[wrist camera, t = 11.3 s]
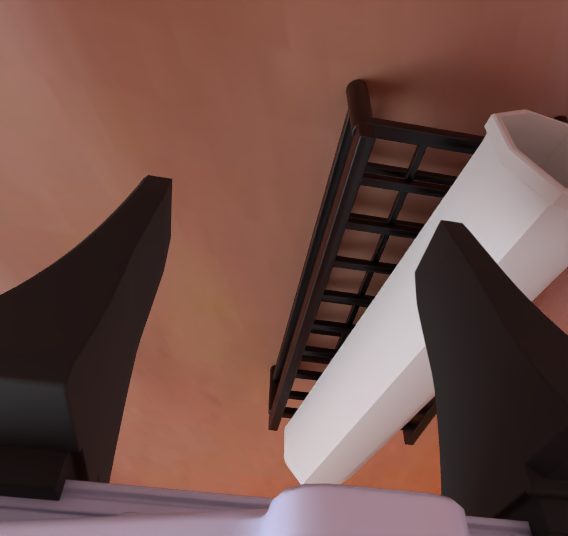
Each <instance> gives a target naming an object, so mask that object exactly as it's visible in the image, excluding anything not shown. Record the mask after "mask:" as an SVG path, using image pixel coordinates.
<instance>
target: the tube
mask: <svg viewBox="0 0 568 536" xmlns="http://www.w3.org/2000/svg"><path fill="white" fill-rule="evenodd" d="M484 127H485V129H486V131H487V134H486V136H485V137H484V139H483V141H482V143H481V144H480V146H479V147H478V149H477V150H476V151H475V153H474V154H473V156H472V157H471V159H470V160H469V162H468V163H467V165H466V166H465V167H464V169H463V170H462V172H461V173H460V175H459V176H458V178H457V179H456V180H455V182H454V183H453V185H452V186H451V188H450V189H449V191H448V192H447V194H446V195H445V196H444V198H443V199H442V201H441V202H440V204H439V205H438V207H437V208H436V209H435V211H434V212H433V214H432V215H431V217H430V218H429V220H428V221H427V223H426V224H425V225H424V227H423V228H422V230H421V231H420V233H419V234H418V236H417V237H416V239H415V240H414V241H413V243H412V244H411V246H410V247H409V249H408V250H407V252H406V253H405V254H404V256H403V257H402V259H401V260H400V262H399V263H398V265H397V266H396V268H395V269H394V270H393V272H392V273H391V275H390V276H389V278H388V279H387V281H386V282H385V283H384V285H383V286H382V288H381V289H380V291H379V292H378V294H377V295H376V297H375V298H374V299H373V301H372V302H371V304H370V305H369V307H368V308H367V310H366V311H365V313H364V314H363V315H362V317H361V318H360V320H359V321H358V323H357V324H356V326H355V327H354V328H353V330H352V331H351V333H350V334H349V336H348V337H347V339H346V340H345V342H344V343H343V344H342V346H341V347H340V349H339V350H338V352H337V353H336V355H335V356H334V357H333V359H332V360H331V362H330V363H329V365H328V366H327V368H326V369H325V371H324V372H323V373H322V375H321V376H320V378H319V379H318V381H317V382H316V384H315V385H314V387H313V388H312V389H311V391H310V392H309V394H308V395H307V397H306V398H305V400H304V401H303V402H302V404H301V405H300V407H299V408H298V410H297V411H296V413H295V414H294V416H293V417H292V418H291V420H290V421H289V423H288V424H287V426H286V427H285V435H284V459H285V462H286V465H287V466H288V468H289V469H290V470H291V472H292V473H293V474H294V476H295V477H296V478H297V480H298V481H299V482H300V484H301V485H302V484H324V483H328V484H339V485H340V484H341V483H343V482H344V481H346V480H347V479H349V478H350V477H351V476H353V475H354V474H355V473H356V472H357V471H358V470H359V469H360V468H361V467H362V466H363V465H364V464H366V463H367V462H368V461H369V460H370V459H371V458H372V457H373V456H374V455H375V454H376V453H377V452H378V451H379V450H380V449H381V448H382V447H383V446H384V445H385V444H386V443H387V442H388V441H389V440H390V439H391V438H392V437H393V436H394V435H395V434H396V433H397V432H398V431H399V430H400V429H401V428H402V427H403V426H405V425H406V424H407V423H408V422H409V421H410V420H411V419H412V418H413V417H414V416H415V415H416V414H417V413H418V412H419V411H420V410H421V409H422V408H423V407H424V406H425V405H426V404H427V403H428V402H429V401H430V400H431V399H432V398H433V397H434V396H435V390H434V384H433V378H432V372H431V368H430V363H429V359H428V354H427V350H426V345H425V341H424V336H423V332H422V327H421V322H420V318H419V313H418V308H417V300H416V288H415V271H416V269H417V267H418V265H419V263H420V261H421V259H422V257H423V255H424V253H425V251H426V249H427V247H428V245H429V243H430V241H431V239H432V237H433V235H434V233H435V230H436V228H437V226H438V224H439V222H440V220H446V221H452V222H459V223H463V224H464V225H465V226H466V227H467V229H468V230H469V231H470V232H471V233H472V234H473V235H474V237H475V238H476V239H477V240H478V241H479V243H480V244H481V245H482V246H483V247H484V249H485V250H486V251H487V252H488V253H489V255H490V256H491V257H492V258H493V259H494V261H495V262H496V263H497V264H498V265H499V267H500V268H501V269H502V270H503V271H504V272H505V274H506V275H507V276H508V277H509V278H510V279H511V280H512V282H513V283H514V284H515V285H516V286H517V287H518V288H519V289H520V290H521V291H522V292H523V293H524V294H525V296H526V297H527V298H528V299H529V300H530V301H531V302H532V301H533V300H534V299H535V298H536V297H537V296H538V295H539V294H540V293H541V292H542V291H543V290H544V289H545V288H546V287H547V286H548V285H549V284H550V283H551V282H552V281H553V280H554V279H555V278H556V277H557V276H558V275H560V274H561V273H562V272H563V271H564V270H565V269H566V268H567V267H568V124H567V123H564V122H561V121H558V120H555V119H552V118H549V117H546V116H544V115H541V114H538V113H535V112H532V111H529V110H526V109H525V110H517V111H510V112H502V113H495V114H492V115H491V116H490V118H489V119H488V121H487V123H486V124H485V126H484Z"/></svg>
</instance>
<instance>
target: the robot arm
mask: <svg viewBox="0 0 568 536" xmlns="http://www.w3.org/2000/svg"><path fill="white" fill-rule="evenodd" d="M171 203H172V179H170V178H163V177H157V176H150V175H148V176H146V177H145V178H143V180H142V181H141V182H140V183H139V185H138V186H137V187H136V188H135V189H134V191H133V192H132V193H131V194H130V195H129V196H128V197H127V199H126V200H125V201H124V202H123V203H122V204H121V205H120V206H119V207H118V208H117V209H116V210H115V211H114V212H113V213H112V214H111V215H110V216H109V217H108V218H107V219H106V220H105V221H104V222H103V223H102V224H101V225H100V226H99V227H98V228H97V229H96V230H94V231H93V232H92V233H91V234H90V235H89V236H88V237H86V238H85V239H84V240H83V241H82V242H81V243H80V244H78V245H77V246H76V247H75V248H73V249H72V250H71V251H70V252H68V253H67V254H66V255H64V256H63V257H61V258H60V259H59V260H57V261H56V262H55V263H53V264H52V265H50V266H49V267H47V268H46V269H44V270H43V271H41V272H39V273H38V274H36V275H35V276H33V277H32V278H30V279H28V280H27V281H25V282H23V283H22V284H20V285H18V286H17V287H15V288H13V289H11V290H9V291H7V292H5V293H3V294H1V295H0V536H568V335H567V334H565V333H564V332H563V331H562V330H561V329H560V328H559V327H558V326H556V325H555V324H554V323H553V322H552V321H551V320H550V319H549V318H548V317H546V316H545V315H544V314H543V313H542V312H541V311H540V310H539V309H538V308H537V307H536V306H535V305H534V304H533V303H532V302H531V301H530V300H529V299H528V298H527V297H526V296H525V294H524V293H523V292H522V291H521V290H520V289H519V288H518V287H517V286H516V285H515V284H514V283H513V282H512V280H511V279H510V278H509V277H508V276H507V275H506V274H505V272H504V271H503V270H502V269H501V268H500V267H499V265H498V264H497V263H496V262H495V261H494V259H493V258H492V257H491V256H490V255H489V253H488V252H487V251H486V250H485V249H484V247H483V246H482V245H481V244H480V243H479V241H478V240H477V239H476V238H475V237H474V235H473V234H472V233H471V232H470V231H469V230H468V229H467V227H466V226H465V225H464V224H463V223H459V222H452V221H446V220H440V222H439V224H438V226H437V228H436V230H435V233H434V235H433V237H432V239H431V241H430V243H429V245H428V247H427V249H426V251H425V253H424V255H423V257H422V259H421V261H420V263H419V265H418V267H417V269H416V271H415V288H416V300H417V308H418V313H419V318H420V322H421V327H422V332H423V336H424V341H425V345H426V350H427V354H428V359H429V363H430V368H431V372H432V378H433V384H434V390H435V400H436V410H437V420H438V433H439V447H440V467H441V495H436V494H432V493H423V492H412V491H402V490H391V489H381V488H370V487H360V486H349V485H339V484H328V483H324V484H302V485H298V486H294V487H291V488H287V489H285V490H284V491H282V492H281V493H280V494H279V495H278V496H277V497H276V498H264V497H253V496H242V495H231V494H220V493H209V492H198V491H187V490H176V489H165V488H154V487H143V486H132V485H121V484H110V483H109V481H110V476H111V470H112V465H113V460H114V455H115V450H116V445H117V440H118V435H119V430H120V425H121V421H122V416H123V411H124V406H125V402H126V397H127V393H128V388H129V383H130V379H131V375H132V370H133V366H134V361H135V357H136V353H137V349H138V346H139V342H140V339H141V336H142V333H143V330H144V327H145V324H146V321H147V319H148V316H149V313H150V310H151V307H152V304H153V301H154V298H155V295H156V292H157V289H158V286H159V284H160V281H161V278H162V275H163V272H164V267H165V263H166V258H167V253H168V248H169V243H170V238H171Z"/></svg>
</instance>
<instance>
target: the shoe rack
mask: <svg viewBox="0 0 568 536" xmlns="http://www.w3.org/2000/svg"><path fill="white" fill-rule="evenodd" d="M346 94H347V101H348V111H347V114H346V118H345V122H344V125H343V129H342V132H341V136H340V139H339V143H338V146H337V150H336V153H335V157H334V161H333V164H332V168H331V171H330V175H329V178H328V182H327V185H326V189H325V193H324V196H323V200H322V203H321V207H320V210H319V214H318V217H317V221H316V225H315V228H314V232H313V235H312V239H311V242H310V246H309V249H308V253H307V256H306V260H305V264H304V267H303V271H302V274H301V278H300V281H299V285H298V288H297V292H296V296H295V299H294V303H293V306H292V310H291V313H290V317H289V320H288V324H287V328H286V331H285V335H284V338H283V342H282V345H281V349H280V352H279V356H278V359H277V363H276V366H272V367H271V369H270V390H269V411H268V413H269V428H268V429H269V430H274V431H277V430H278V427H279V424H280V421H281V418H282V417H283V418H292V417H293V416H294V414H295V413H296V411H297V410H298V408H290V407H285V406H286V403H287V400H288V399H296V400H305V398H306V397H307V395H308V394H309V393H308V392H299V391H291V389H292V386H293V383H294V380H295V378H301V379H310V380H318V379H319V378H320V376H321V375H322V373H323V372H316V371H308V370H299V369H298V368H299V365H300V362H301V361H305V362H314V363H322V364H329V363H330V362H331V360H332V359H333V357H334V356H335V355H336V353H337V352H338V350H339V349H340V347H341V346H342V344H343V343H344V342H345V340H346V338H347V337H348V336H349V334H350V333H351V331H352V330H353V328H354V327H355V326H356V325H355V324H353V321H354V319H355V316H356V314H357V312H358V309H359V307H360V306H361V307H369V305H370V304H371V302H372V301H373V299H374V298H375V297H376V296H369V295H365V293H366V290H367V288H368V286H369V283H370V281H371V278H372V276H373V274H374V272H376V273H383V274H390V275H391V273H392V272H393V270H394V269H395V268H396V266H397V264H390V263H383V262H379V259H380V257H381V255H382V252H383V250H384V248H385V245H386V243H387V240H388V238H389V236H390V235H392V236H399V237H406V238H412V239H416V237H417V236H418V234H419V233H420V231H421V230H422V228H423V227H424V225H425V224H421V223H414V222H408V221H401V220H396V219H397V217H398V214H399V212H400V209H401V207H402V205H403V202H404V200H405V198H406V195H407V193H408V192H409V193H415V194H422V195H428V196H434V197H441V198H444V196H445V195H446V194H447V192H448V191H449V189H450V188H451V186H452V185H453V183H454V182H455V180H456V179H457V178H458V177H457V176H451V175H444V174H438V173H432V172H426V171H420V170H417V169H418V167H419V164H420V162H421V160H422V157H423V155H424V152H425V150H426V148H427V147H432V148H438V149H444V150H450V151H456V152H462V153H468V154H474V153H475V151H476V150H477V149H478V147H479V146H480V144H481V143H482V141H483V139H484V137H483V136H477V135H472V134H466V133H460V132H454V131H448V130H442V129H436V128H431V127H425V126H419V125H413V124H407V123H401V122H396V121H390V120H384V119H378V118H373V114H372V108H371V103H370V98H369V93H368V88H367V85H366V83H365V82H363V81H361V80H354V81H352V82H351V83H349V85H348V86H347V89H346ZM553 119H555V120H558V121H561V122H564V123H567V124H568V119H567V118H566V117H564V116H557V117H555V118H553ZM376 138H378V139H384V140H390V141H396V142H402V143H408V144H414V145H417V148H416V150H415V153H414V155H413V158H412V160H411V163H410V165H409V168H408V169H407V168H401V167H395V166H389V165H383V164H376V163H370V162H368V160H369V157H370V154H371V151H372V148H373V145H374V142H375V139H376ZM364 172H367V173H364ZM370 173H373V174H370ZM377 174H379V175H377ZM383 175H386V176H383ZM389 176H392V177H389ZM395 177H398V178H395ZM402 178H404V179H402ZM414 180H417V181H414ZM421 181H423V182H421ZM427 182H430V183H427ZM433 183H436V184H433ZM439 184H442V185H439ZM360 185H364V186H371V187H377V188H383V189H390V190H396V191H399V192H398V195H397V197H396V200H395V202H394V205H393V207H392V209H391V212H390V214H389V217H388V218H381V217H375V216H368V215H361V214H355V213H351V210H352V207H353V204H354V201H355V199H356V196H357V193H358V190H359V187H360ZM446 185H448V186H446ZM345 229H351V230H358V231H365V232H372V233H378V234H381V237H380V239H379V242H378V244H377V247H376V249H375V251H374V254H373V256H372V259H371V261H369V260H362V259H355V258H348V257H341V256H336V255H337V252H338V249H339V246H340V243H341V240H342V237H343V234H344V231H345ZM332 267H340V268H347V269H354V270H361V271H366V274H365V276H364V279H363V281H362V284H361V286H360V288H359V291H358V293H357V294H354V293H347V292H339V291H332V290H325V288H326V285H327V282H328V279H329V276H330V273H331V270H332ZM321 301H323V302H331V303H338V304H346V305H353V306H352V308H351V311H350V313H349V316H348V318H347V321H346V323H340V322H332V321H324V320H316V319H315V317H316V314H317V311H318V308H319V305H320V302H321ZM310 333H314V334H322V335H330V336H338V337H340V338H339V340H338V343H337V345H336V348H335V349H328V348H320V347H312V346H306V344H307V341H308V338H309V335H310ZM436 414H437V410H436V400H435V396H434V397H433V398H432V399H431V400H430V401H429V402H428V403H427V404H426V405H425V406H424V407H423V408H422V409H421V410H420V411H419V412H418V413H417V414H416V415H415V416H414V417H413V418H412V419H411V420H410V421H409V422H408V423H407V424H406V425H405V426H403V427H402V428H401V429H400V430H403V434H404V441H405V444H408V445H413V444H414V443H415V442H416V440H417V439H418V438H419V436H420V435H421V434H422V432H423V431H424V430H425V428H426V427H427V426H428V424H429V423H430V422H431V420H432V419H433V418H434V416H435V415H436Z"/></svg>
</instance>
